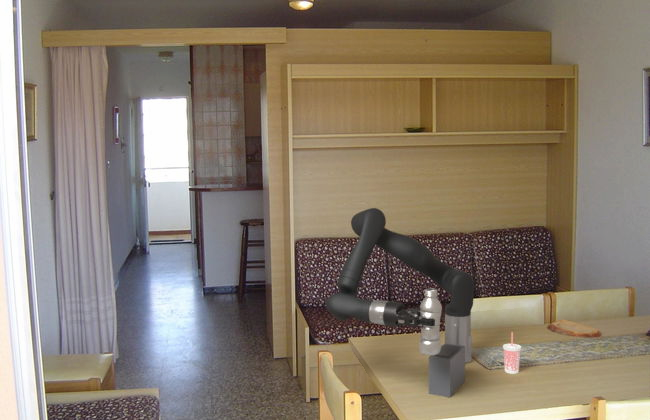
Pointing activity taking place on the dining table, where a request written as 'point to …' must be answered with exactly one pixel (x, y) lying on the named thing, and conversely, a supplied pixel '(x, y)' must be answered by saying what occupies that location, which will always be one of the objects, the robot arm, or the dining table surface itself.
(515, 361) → the beverage cup
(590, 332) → the slice of bread
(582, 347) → the dining table surface
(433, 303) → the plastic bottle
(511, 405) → the dining table surface
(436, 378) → the box
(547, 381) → the dining table surface
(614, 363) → the dining table surface
